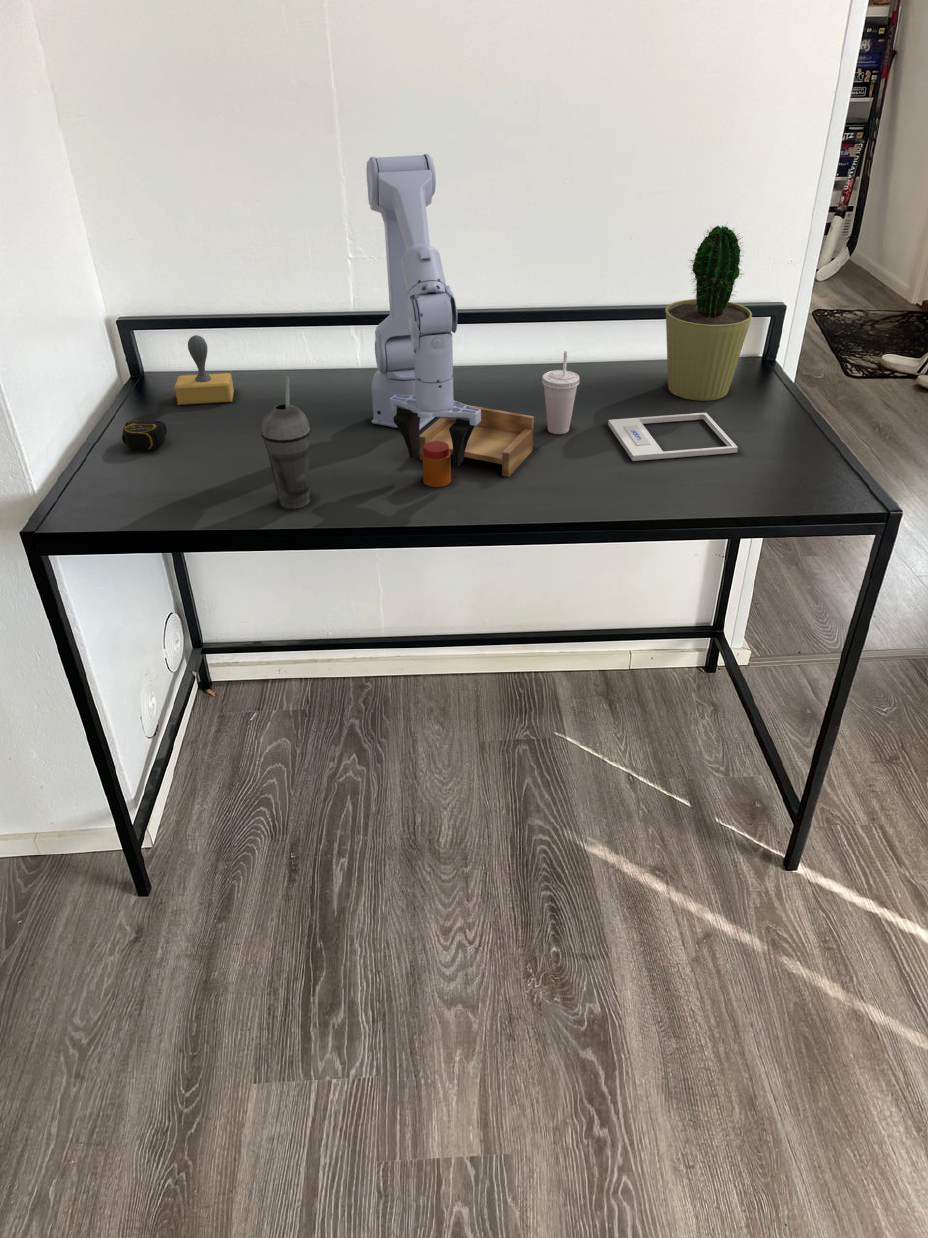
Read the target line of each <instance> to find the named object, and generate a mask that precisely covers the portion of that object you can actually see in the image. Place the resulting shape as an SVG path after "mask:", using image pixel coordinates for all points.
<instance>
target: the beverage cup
mask: <svg viewBox="0 0 928 1238" xmlns="http://www.w3.org/2000/svg"><path fill="white" fill-rule="evenodd" d="M311 433H312V430H311V427H310V423H309V420H308V417H307V416H306V415H305V413H304V412H303V411H302V410H301V409H300V408H299V407H297V406H295V405H293V404H290V375H285V403H279V404H277V405H274V406H272V407H271V408H269V410H267V412H266V413H265V415H264V417H263V418H262V422H261V431H260V436H261V438H262V440H263V443H264V447H265V449H266V450H267V455H268V458H269V463H270V468H271V472H272V476H273V480H274V484H275V489H276V494H277V496H278V500H279V504H280V505H281V507H283V508H285V509H290V510H291V509H292V510H294V509H301V508H304V507H305V506H307V505H308V504H310V501H311V500H310V498H311V497H310V495H311V494H310V492H311V478H310V477H311V474H310V473H311V472H310V470H311V469H310V443H311Z"/></svg>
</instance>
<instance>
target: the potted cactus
mask: <svg viewBox="0 0 928 1238" xmlns="http://www.w3.org/2000/svg"><path fill="white" fill-rule="evenodd" d="M728 223H729V221H727V222H726V224H724V225H721V226H720V225H716V224H714V227H712V225H711V224H709V225H710V226H708V227H709V229H710V230H709V229H707V228H706V230H704V232H705V233H704V232H702V233H703V236H704V237H703V239H701V241H702V242H700V244H699V245H698V247H697V248H696V247H694V249H695V250H696V251H694V252H693V251H692V253H693V254H694V258H693V259H692V260H688V262H689V263H692V266H691V265H688V268H689V270H690V269H691V270H690V271H691V273H690V275H691V276H693V275H694V277H692V279H690V280H689V282H692V283H691V284H694V287H693V289H692V290H691V291H692V292H691V293H690V294H691V295H695V297H693V298H689V299H682V300H677V301H675V302H672V303H669V304H668V305H667V306H666V307H665V310H664V311H665V326H666V327H665V329H666V358H667V359H666V361H667V362H666V364H667V387H668V388H667V389H668V391H669V392H670V393H672V394H673V395H675V396H677V397H679V398H682V399H685V400H692V401H714V400H719V399H722V398H724V397H726V396H727V395H728V393H729V391H730V387H731V385H732V382H733V379H734V376H735V371H736V369H737V365H738V362H739V359H740V356H741V353H742V350H743V346H744V343H745V340H746V337H747V334H748V330H749V328H750V325H751V321H752V317H753V313H752V311H751V309H749V308H747V306H743V305H741V304H739V303H736V302H732V301H730V300H734V298H733V297H734V296H736V294H735V293H738V294H739V292H738V291H736V290H735V291H734V286H735V285H736V283H735V282H737V281H738V280H739V279H741V276H743V275H744V273H743V272H741V268H740V267H739V266H741V267H743V266H742V264H741V263H742V260H741V257H743V255H741V253H744V252H745V251H744V250H743V249H741V248H742V247H744V244H743V243H744V241H743V242H740V241H741V239H743V238H744V236H741V235H740V234H741V232H740V233H735V232H736V228H735V227H733V228H732V229H731V228H729V227H728V226H727V224H728ZM741 244H742V245H741ZM733 292H734V293H733Z"/></svg>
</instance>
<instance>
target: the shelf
mask: <svg viewBox="0 0 928 1238" xmlns="http://www.w3.org/2000/svg"><path fill="white" fill-rule="evenodd" d="M467 405H468V406H470V407H473V408H477V409H481V421H480V422H479V423H478V424H477V425H476V426H475V427H474V429H473V431H472V433H471V435H470V437H469V440H468V443H467V446H466V449H465V453H464V458H468V459H473V460H478V461H482V462H488V463H494V464H497V465H498V464H499V465H501V476H502V477H506V478H510V476H511V475H512V474H513V473H514V472H515V471H516V470H517V468H519V467H520V466H521V464H522V463H523V462H524V461H525V460H526V459H527V458H528V457H529V455H530V454H531V453H532V452H533V451H534V428H535V427H534V424H535V416H534V415H528V414H522V413H517V412H510V411H506V410H499V409H495V408H487V407H482V406H475V405H470V404H467ZM454 423H456V420H451V419H446V418H440V417H439V418H438V419H437V420H436V421H435V422H434V423H433V424H431V425H430V426H429V427H428V428H426V429H425V430H424V431H423V432H422V433H420V434H419V438H420V451H419V453H418V454H419V460H421V461H423V458H422V453H423V452H424V451H423V446H424V445H425V444H426V443H428V442H431V441H442V442H445V443H447V444H448V445H449V451H450V456H453V445H452V439H451V435H450V431H449V428H450V427H451V426H452V425H453V424H454Z"/></svg>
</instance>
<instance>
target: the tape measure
mask: <svg viewBox="0 0 928 1238" xmlns="http://www.w3.org/2000/svg"><path fill="white" fill-rule="evenodd" d="M167 433H168V429H167V425H166V423H165V422H163V421H159V420H142V421H141V420H140V421H128V422H125V424H124V427H123V429H122V434H121V441H122V443H123V444H124V445H126V447H127V448H128V449H130V450H134V451H152V450H153V449H156V448H158V447H161V446H163V444H164V443H165V442H166V435H167Z"/></svg>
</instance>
